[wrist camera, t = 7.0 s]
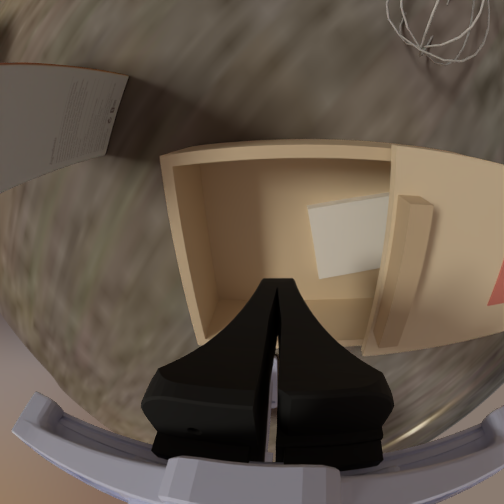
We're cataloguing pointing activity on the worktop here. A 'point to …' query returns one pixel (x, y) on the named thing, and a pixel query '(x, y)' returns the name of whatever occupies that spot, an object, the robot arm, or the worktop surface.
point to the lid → (439, 253)
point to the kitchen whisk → (432, 36)
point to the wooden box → (268, 225)
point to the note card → (348, 234)
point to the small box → (53, 117)
